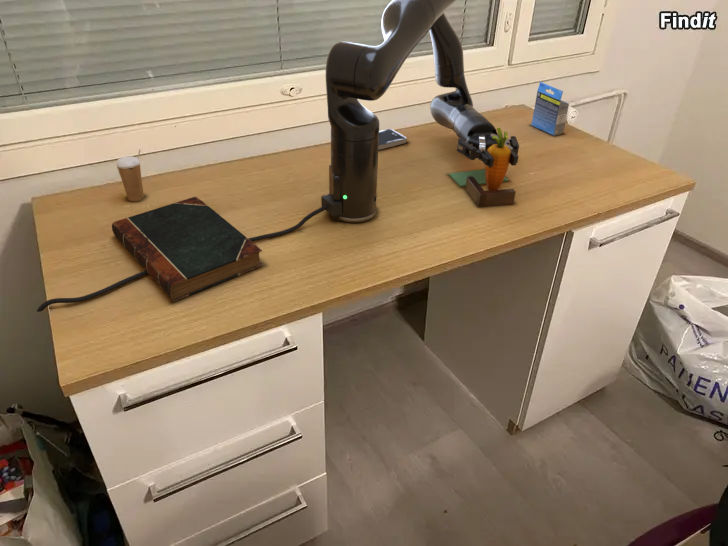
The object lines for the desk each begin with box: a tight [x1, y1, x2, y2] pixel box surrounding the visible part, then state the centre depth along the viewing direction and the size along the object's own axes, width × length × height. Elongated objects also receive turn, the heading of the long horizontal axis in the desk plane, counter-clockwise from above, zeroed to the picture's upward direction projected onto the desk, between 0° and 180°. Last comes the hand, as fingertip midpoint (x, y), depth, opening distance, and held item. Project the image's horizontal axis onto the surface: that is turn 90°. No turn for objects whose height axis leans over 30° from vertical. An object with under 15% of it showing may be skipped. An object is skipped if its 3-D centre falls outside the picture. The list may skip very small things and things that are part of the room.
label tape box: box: [531, 81, 570, 137], centre depth 158 cm, size 9×4×12 cm, turn 30°
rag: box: [448, 168, 509, 188], centre depth 135 cm, size 12×6×1 cm, turn 107°
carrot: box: [484, 126, 511, 190], centre depth 124 cm, size 5×5×15 cm
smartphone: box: [378, 128, 407, 151], centre depth 150 cm, size 8×1×15 cm
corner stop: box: [464, 176, 517, 208], centre depth 127 cm, size 8×8×3 cm
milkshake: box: [115, 149, 145, 202], centre depth 121 cm, size 4×5×10 cm
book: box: [111, 196, 264, 302], centre depth 106 cm, size 17×4×25 cm
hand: (503, 162), depth 121 cm, fingers closed on carrot, 4 cm apart
